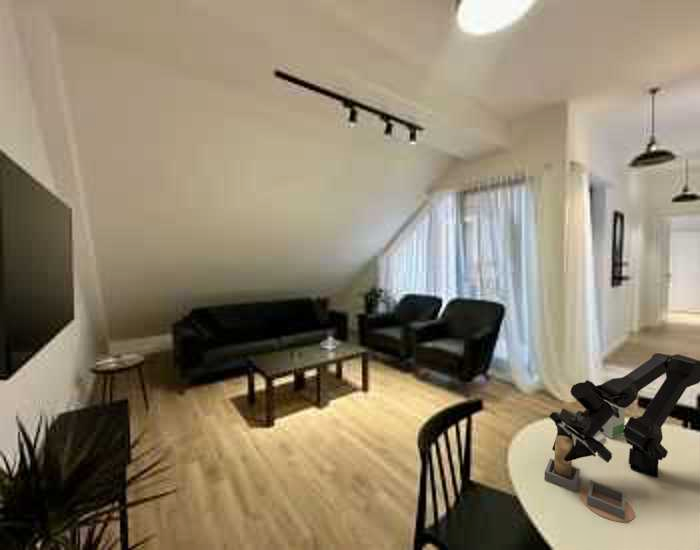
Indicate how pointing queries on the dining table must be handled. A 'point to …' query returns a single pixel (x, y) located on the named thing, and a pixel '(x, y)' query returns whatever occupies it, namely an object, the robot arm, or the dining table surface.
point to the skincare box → (614, 423)
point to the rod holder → (561, 480)
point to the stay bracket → (607, 502)
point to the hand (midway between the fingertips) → (559, 455)
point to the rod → (562, 456)
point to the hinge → (598, 437)
